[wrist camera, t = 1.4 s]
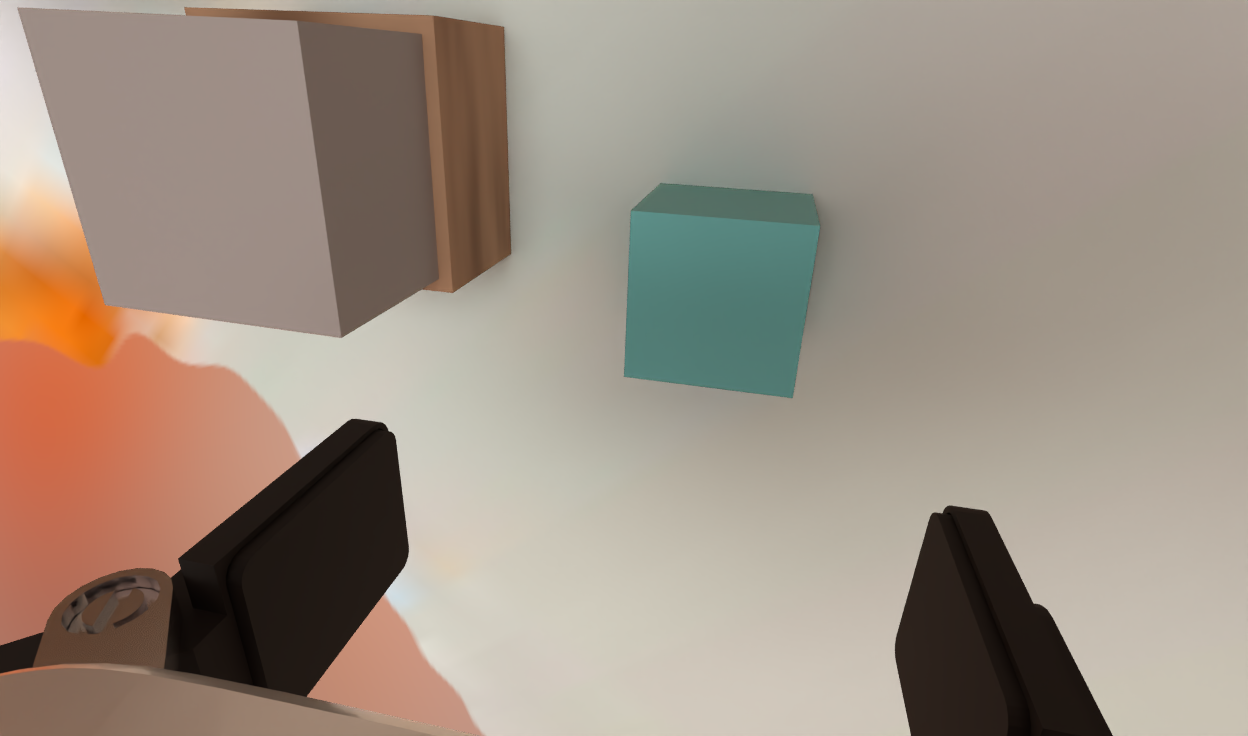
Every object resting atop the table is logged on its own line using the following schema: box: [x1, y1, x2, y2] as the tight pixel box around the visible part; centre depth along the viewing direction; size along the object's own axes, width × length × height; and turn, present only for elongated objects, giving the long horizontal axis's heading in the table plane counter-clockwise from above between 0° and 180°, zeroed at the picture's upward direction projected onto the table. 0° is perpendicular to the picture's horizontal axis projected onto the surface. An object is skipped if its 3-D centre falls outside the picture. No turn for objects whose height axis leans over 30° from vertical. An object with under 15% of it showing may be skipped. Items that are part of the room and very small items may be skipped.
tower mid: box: [18, 8, 439, 338], centre depth 20 cm, size 8×8×6 cm
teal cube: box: [624, 183, 820, 398], centre depth 25 cm, size 6×6×6 cm
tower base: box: [184, 7, 511, 293], centre depth 26 cm, size 9×9×6 cm
